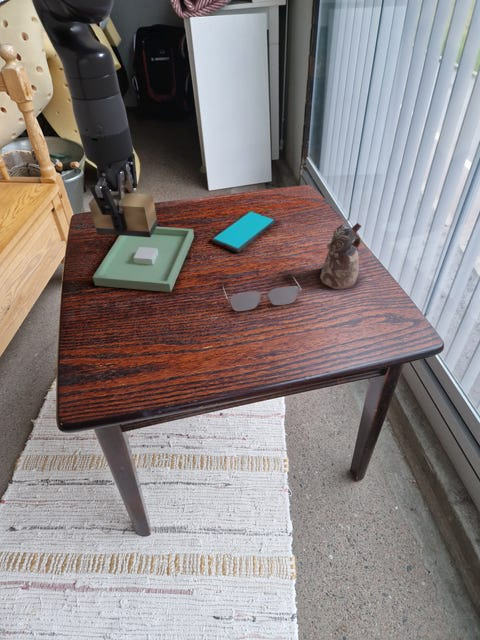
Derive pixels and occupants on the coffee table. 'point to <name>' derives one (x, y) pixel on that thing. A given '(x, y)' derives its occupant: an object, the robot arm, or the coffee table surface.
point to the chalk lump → (145, 255)
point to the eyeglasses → (252, 298)
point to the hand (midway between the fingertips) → (126, 222)
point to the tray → (154, 277)
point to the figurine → (342, 258)
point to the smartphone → (243, 231)
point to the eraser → (128, 216)
